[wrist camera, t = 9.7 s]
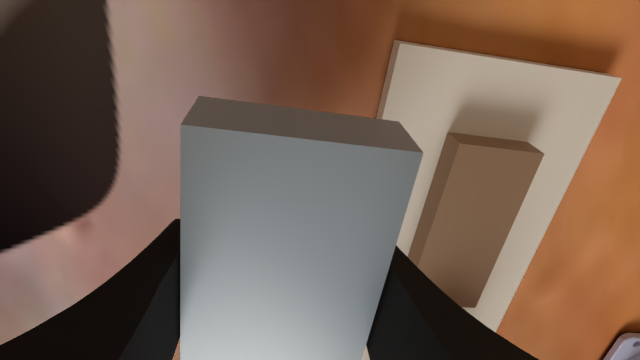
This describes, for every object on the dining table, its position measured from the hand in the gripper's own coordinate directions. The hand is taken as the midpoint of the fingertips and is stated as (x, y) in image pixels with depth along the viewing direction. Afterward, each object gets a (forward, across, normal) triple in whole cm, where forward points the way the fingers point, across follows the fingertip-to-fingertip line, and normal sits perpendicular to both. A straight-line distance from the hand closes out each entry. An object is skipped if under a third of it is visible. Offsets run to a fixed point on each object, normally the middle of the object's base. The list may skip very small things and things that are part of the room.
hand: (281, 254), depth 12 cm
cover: (0, 0, 0) cm, 0 cm away
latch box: (+5, -8, +6) cm, 11 cm away
